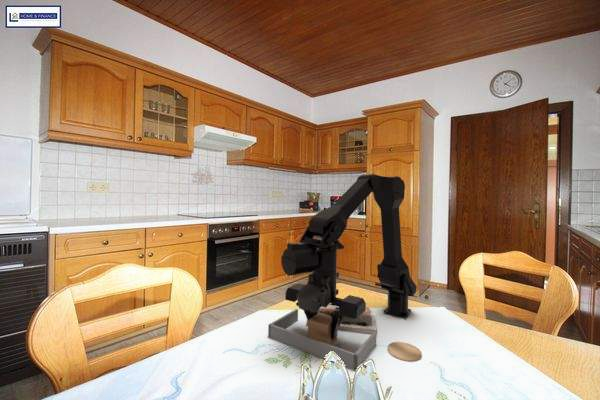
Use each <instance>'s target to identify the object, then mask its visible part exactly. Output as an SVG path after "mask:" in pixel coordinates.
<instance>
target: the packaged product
mask: <svg viewBox="0 0 600 400" xmlns="http://www.w3.org/2000/svg"><path fill="white" fill-rule="evenodd" d="M334 310H335V306H333V305H329V304H328V306H327V307H326V308H325V307H320V308H319V310H318V311H317V314H318V313H322V314H326V315H329V316H330V313H331V312H333V311H334ZM305 324H306V325H305V326H306V327H308V321H307V320H306V322H305ZM338 331H340V332H349V333H355V334H365V335H366V334H367V335H372V333H373V332H377V333H378V326H377V319H376V315H373V314H372V310H371V308H370V307H367V306H366V311H365V312H363V313H362V314H361V315H360V316H359V317H358V318H355V319H353V318H349V317H346V316H345V317H344V319H343V320H342V323H341V325H340V327H339V329H338Z"/></svg>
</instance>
